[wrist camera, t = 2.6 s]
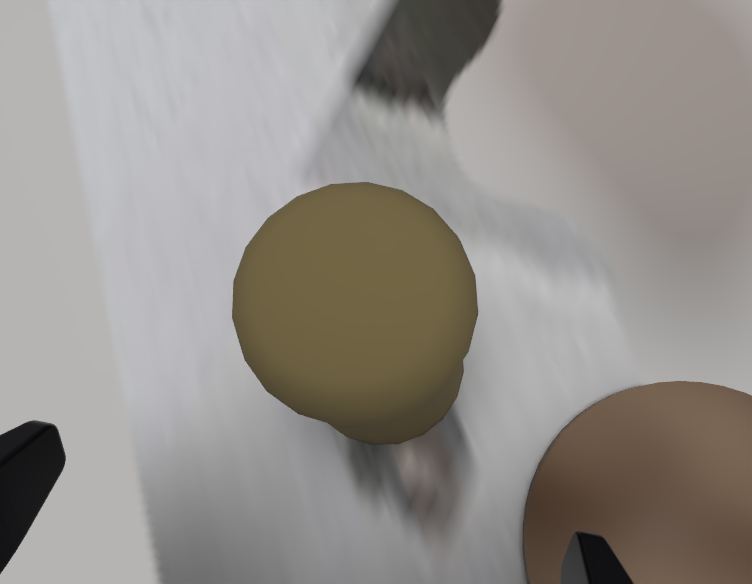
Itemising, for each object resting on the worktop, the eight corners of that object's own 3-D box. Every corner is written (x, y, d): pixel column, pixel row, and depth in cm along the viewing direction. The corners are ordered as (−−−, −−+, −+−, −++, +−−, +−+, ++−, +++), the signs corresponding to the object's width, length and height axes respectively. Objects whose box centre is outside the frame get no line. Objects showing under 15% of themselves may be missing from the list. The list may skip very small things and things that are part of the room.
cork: (274, 401, 21) (127, 360, 10) (346, 260, 22) (278, 94, 12) (423, 474, 20) (427, 511, 9) (489, 322, 21) (559, 202, 11)
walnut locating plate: (886, 777, 17) (1040, 887, 13) (511, 709, 18) (539, 789, 14) (857, 404, 19) (975, 394, 15) (532, 366, 21) (561, 347, 16)
